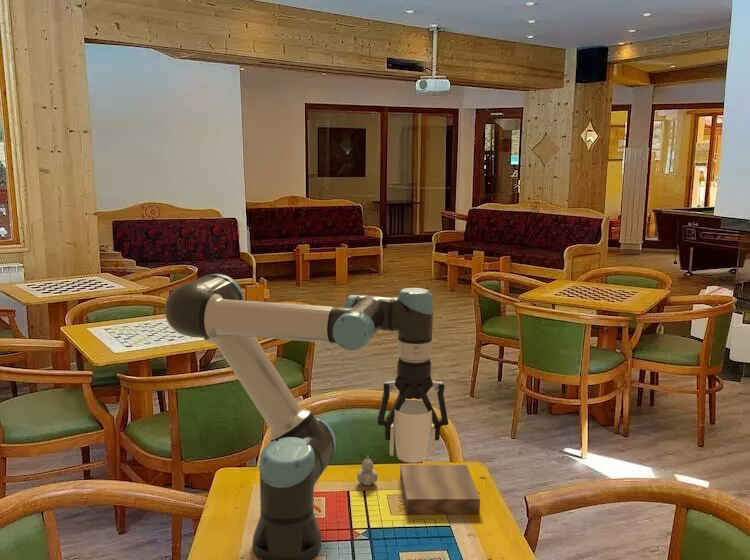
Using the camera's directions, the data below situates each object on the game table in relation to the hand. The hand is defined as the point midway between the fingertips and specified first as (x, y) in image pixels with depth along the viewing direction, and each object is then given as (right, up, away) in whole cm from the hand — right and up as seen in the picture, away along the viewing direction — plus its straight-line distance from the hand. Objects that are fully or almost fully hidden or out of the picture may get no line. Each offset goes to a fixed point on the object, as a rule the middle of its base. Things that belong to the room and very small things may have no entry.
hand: (411, 452), depth 155 cm
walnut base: (+8, -16, +20) cm, 27 cm away
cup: (0, -1, 0) cm, 1 cm away
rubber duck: (-10, -15, +25) cm, 31 cm away
